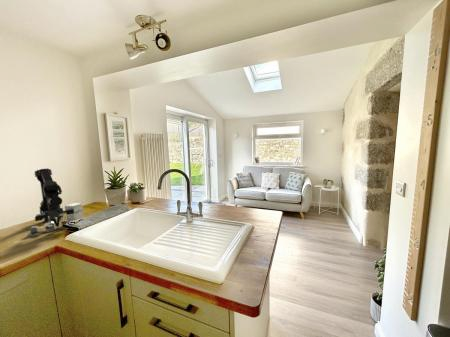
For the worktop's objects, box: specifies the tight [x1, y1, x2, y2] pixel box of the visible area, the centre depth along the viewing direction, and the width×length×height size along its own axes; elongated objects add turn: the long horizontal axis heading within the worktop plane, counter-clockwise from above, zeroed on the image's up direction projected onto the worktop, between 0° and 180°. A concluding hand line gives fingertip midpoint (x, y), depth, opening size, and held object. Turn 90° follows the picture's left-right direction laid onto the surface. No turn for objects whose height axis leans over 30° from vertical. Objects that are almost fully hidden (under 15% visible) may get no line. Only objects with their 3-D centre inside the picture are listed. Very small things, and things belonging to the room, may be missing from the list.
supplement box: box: [64, 202, 85, 222], centre depth 143 cm, size 7×7×13 cm
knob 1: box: [29, 225, 45, 233], centre depth 124 cm, size 8×4×3 cm, turn 92°
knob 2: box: [54, 219, 69, 229], centre depth 130 cm, size 8×4×3 cm, turn 164°
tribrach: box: [27, 221, 68, 238], centre depth 133 cm, size 19×22×5 cm
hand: (57, 226), depth 127 cm, fingers closed
